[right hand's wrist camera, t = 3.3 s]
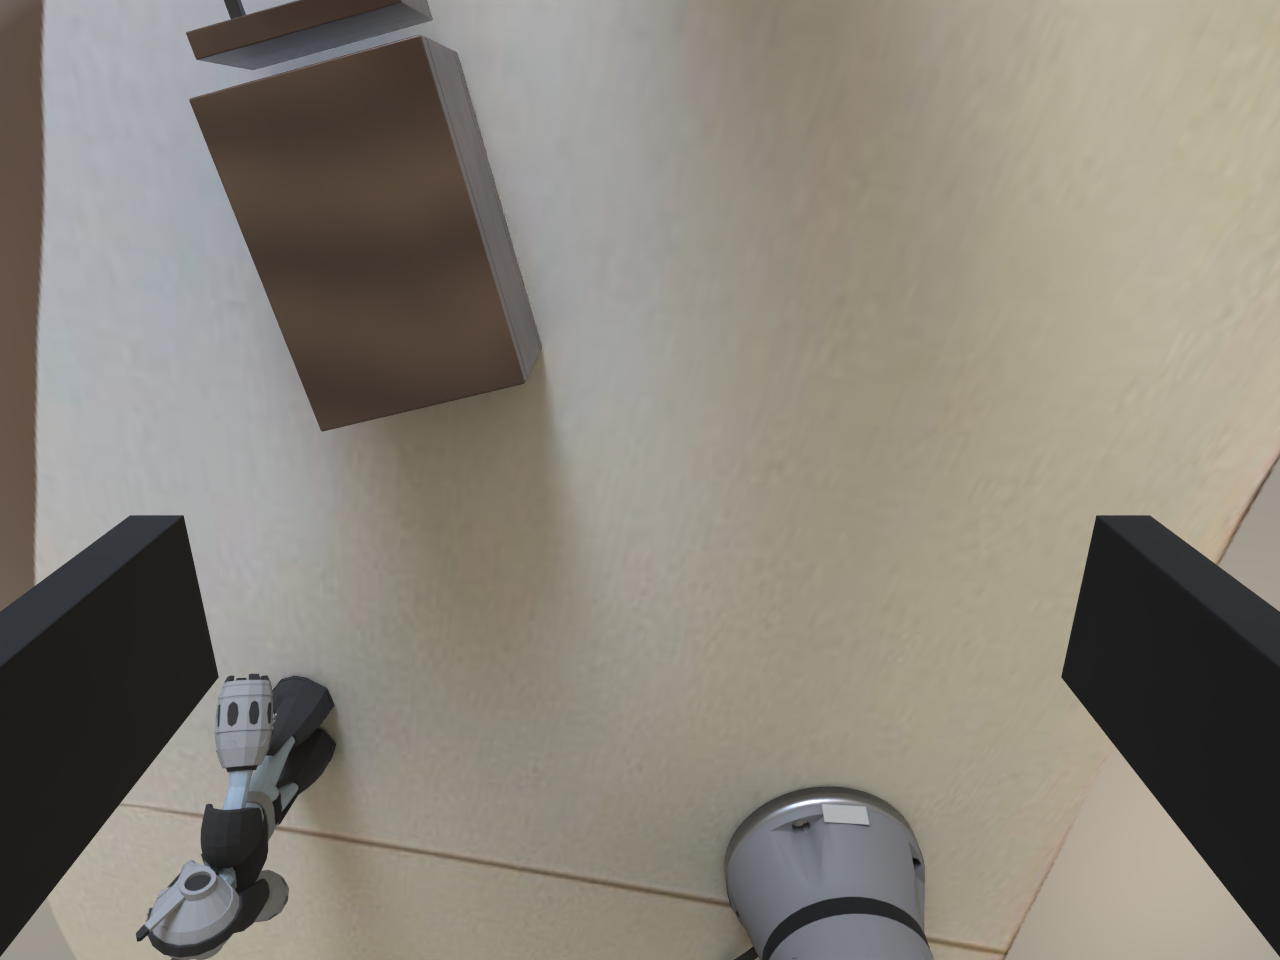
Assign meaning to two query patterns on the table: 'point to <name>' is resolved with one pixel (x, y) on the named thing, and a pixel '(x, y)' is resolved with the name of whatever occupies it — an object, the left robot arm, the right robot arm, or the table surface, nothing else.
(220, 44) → the drawer
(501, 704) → the table surface
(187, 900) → the robot
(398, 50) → the cabinet
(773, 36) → the table surface
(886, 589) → the table surface
